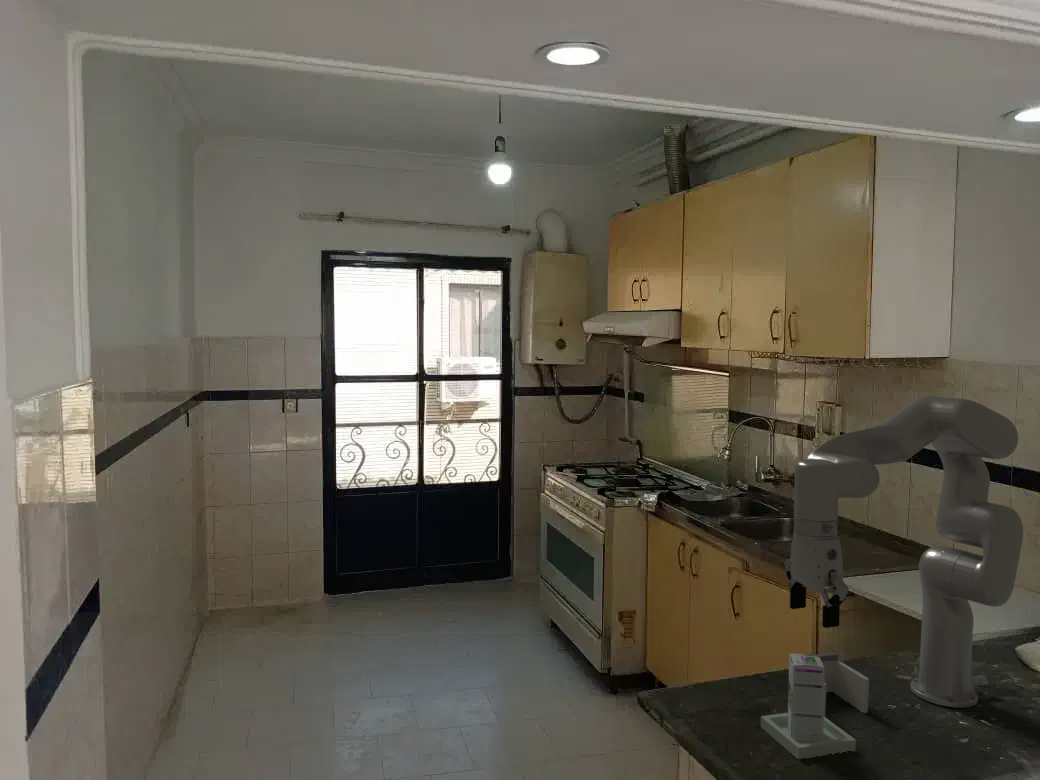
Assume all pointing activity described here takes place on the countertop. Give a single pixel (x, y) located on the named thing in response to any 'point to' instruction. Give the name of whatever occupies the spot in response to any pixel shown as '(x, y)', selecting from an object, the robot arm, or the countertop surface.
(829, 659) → the bay
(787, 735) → the tray
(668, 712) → the countertop surface
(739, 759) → the countertop surface
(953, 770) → the countertop surface
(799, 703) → the syrup box
